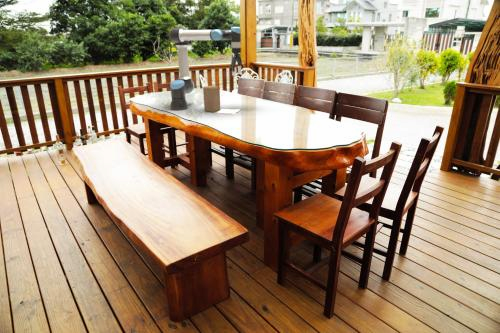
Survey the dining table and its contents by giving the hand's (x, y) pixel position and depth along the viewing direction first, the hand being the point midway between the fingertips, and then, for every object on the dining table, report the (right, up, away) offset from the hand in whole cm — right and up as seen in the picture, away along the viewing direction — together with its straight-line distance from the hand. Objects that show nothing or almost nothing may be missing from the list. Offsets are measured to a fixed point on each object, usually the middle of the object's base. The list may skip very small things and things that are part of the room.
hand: (236, 74), depth 271 cm
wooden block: (-21, -30, +3) cm, 36 cm away
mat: (-7, -31, -1) cm, 32 cm away
